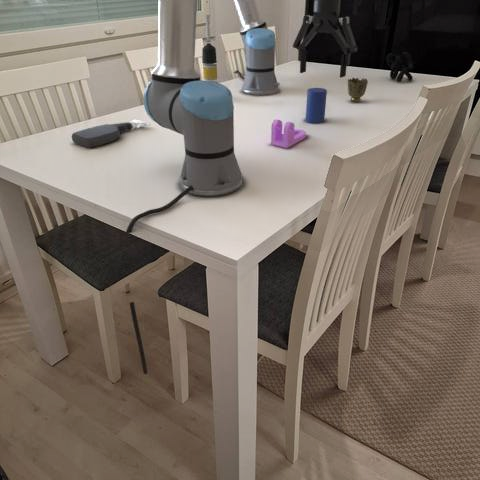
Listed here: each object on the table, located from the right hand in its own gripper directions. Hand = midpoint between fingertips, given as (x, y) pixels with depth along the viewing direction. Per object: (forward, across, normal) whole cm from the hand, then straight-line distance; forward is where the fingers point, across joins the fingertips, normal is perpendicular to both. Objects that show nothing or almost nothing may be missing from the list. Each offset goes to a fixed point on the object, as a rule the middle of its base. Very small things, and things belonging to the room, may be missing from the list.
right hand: (341, 15), depth 186 cm
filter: (+27, -60, -3) cm, 66 cm away
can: (+27, -37, -46) cm, 65 cm away
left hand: (+10, -39, -51) cm, 65 cm away
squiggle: (+27, +27, -10) cm, 40 cm away
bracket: (+27, -54, -60) cm, 85 cm away
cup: (+27, -11, -32) cm, 43 cm away
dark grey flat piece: (+27, -103, -32) cm, 111 cm away
